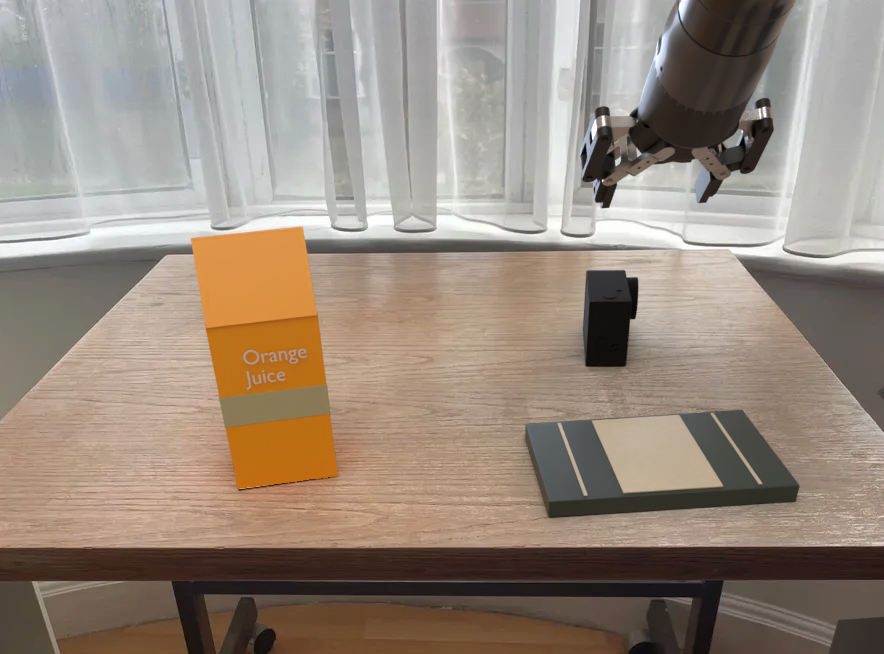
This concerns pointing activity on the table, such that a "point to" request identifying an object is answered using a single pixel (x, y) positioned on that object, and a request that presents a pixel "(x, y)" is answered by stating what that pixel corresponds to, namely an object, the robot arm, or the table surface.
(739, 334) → the table surface
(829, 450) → the table surface
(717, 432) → the board
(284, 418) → the orange juice
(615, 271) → the digital camera
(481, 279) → the table surface
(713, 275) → the table surface
